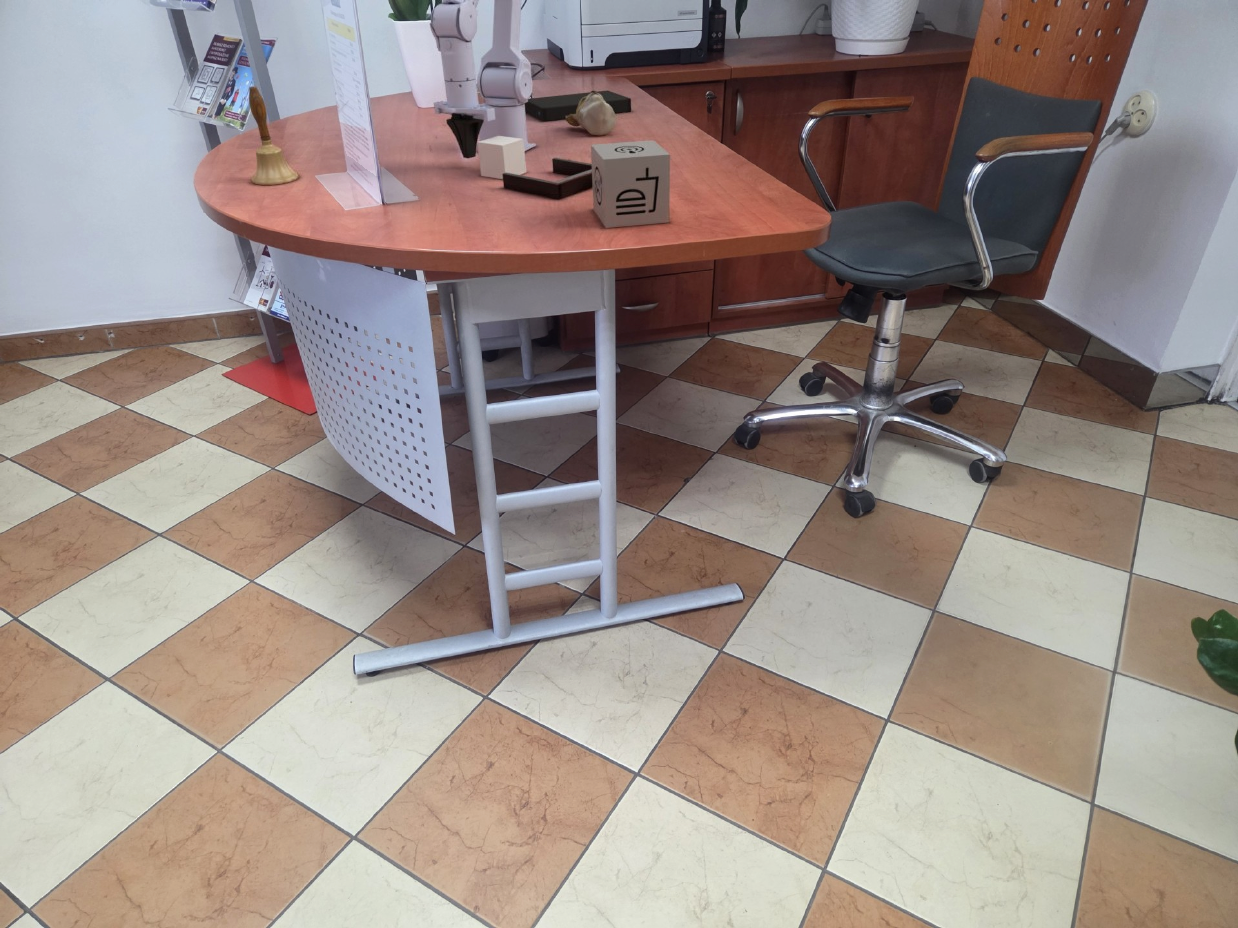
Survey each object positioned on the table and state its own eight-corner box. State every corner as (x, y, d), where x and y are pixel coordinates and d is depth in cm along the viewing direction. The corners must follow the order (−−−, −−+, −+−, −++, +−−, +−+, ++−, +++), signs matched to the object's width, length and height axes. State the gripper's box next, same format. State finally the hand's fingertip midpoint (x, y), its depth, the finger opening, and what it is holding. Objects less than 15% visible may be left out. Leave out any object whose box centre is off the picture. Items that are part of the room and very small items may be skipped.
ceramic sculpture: (578, 95, 168) (560, 89, 180) (580, 139, 172) (563, 130, 185) (626, 92, 171) (605, 86, 183) (627, 135, 175) (607, 127, 187)
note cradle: (503, 188, 142) (501, 172, 140) (556, 171, 151) (555, 156, 150) (558, 200, 135) (557, 183, 134) (610, 181, 144) (610, 165, 143)
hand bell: (307, 175, 153) (286, 83, 144) (279, 186, 146) (255, 91, 137) (272, 172, 155) (249, 82, 146) (242, 183, 149) (216, 90, 140)
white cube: (481, 176, 150) (477, 142, 146) (501, 169, 154) (498, 135, 150) (506, 180, 147) (502, 145, 143) (526, 172, 151) (523, 138, 148)
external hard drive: (631, 111, 198) (630, 98, 196) (543, 122, 190) (542, 108, 188) (607, 103, 209) (607, 90, 207) (523, 112, 201) (522, 99, 199)
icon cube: (669, 222, 123) (670, 154, 118) (605, 228, 122) (603, 159, 116) (653, 204, 132) (653, 140, 126) (593, 209, 130) (590, 144, 124)
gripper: (417, 79, 147) (428, 156, 155) (471, 85, 140) (480, 166, 147) (446, 74, 152) (455, 149, 160) (500, 80, 144) (507, 158, 152)
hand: (469, 157), depth 154 cm, fingers closed
